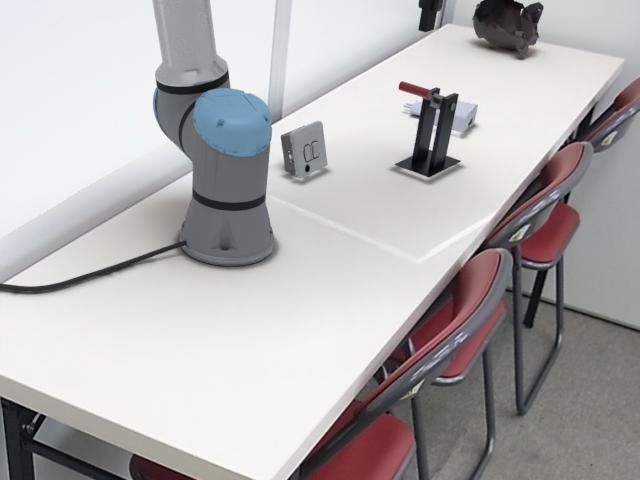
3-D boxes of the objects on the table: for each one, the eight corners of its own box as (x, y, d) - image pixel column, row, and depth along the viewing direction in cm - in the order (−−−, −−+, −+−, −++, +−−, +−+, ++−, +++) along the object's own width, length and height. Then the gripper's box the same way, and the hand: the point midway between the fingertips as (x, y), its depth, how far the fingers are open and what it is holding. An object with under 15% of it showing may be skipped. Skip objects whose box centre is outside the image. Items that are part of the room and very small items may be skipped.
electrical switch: (299, 184, 169) (300, 134, 164) (277, 178, 172) (277, 129, 167) (328, 170, 175) (330, 122, 170) (306, 165, 178) (307, 117, 173)
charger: (409, 109, 205) (474, 124, 201) (396, 122, 199) (462, 137, 194) (413, 88, 203) (478, 103, 198) (399, 100, 196) (467, 115, 191)
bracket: (428, 182, 174) (443, 105, 165) (393, 169, 178) (406, 94, 169) (460, 166, 181) (476, 92, 172) (426, 154, 185) (439, 80, 176)
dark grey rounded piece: (544, 48, 250) (476, 36, 259) (554, -8, 240) (483, -19, 249) (524, 64, 241) (455, 51, 250) (533, 6, 232) (461, -5, 241)
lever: (424, 100, 161) (430, 86, 160) (396, 91, 164) (401, 77, 163) (453, 114, 171) (458, 102, 171) (426, 106, 174) (431, 93, 174)
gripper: (501, -123, 141) (470, 35, 155) (430, -136, 147) (406, 17, 162) (477, -120, 136) (447, 43, 151) (404, -133, 143) (382, 25, 157)
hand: (426, 29), depth 156 cm, fingers closed
